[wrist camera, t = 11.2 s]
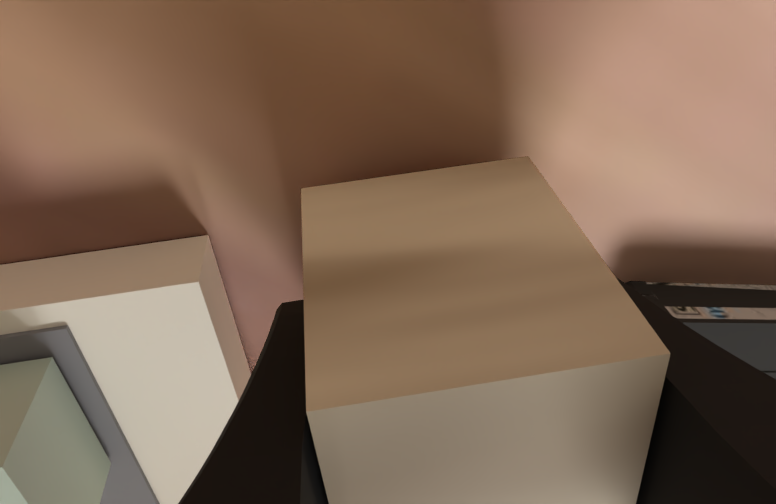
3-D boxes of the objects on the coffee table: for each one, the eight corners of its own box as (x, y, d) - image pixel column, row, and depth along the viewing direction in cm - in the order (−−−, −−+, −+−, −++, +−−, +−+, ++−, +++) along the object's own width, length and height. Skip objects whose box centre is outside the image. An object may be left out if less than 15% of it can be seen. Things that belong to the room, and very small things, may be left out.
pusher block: (521, 327, 13) (624, 552, 9) (333, 356, 13) (352, 601, 9) (528, 156, 11) (670, 353, 7) (300, 188, 11) (306, 411, 7)
